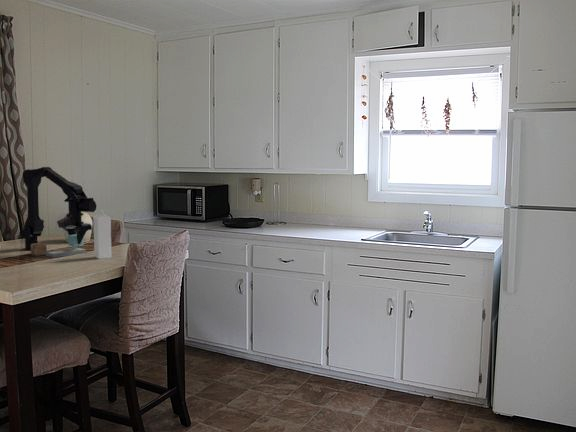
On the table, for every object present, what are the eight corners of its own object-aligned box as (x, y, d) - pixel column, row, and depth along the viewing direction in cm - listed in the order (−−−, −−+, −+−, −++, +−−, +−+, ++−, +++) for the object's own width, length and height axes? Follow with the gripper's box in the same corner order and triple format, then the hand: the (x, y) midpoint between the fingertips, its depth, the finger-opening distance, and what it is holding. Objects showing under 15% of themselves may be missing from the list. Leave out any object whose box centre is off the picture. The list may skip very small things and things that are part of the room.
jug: (87, 243, 303) (85, 196, 300) (57, 243, 303) (56, 196, 300) (97, 239, 318) (95, 194, 315) (69, 238, 318) (67, 194, 315)
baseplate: (45, 255, 268) (45, 252, 268) (78, 250, 281) (78, 247, 281) (54, 257, 264) (53, 254, 264) (86, 252, 277) (86, 249, 277)
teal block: (68, 245, 276) (68, 235, 275) (77, 244, 280) (77, 234, 279) (74, 246, 273) (74, 236, 272) (83, 245, 277) (83, 235, 276)
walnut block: (31, 254, 272) (30, 244, 271) (41, 253, 276) (40, 242, 275) (36, 255, 269) (36, 245, 268) (46, 254, 273) (46, 243, 272)
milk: (98, 259, 261) (97, 211, 259) (94, 257, 266) (92, 210, 263) (111, 257, 265) (110, 210, 262) (107, 255, 270) (105, 209, 267)
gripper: (48, 211, 274) (49, 243, 275) (70, 214, 262) (71, 247, 264) (69, 209, 282) (70, 240, 284) (92, 212, 271) (93, 244, 273)
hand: (76, 243), depth 276 cm, fingers closed on teal block, 5 cm apart
